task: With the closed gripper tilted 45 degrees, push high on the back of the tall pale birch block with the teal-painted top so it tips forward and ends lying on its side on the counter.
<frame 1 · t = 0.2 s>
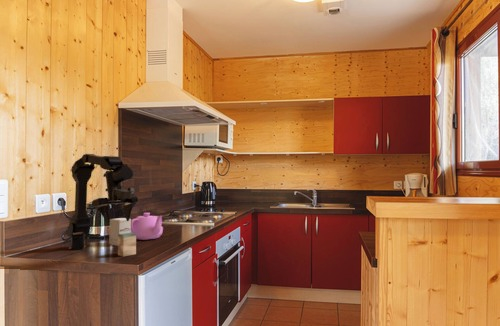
hand: (118, 222, 150), 15 cm above the countertop, tool pointing down, fingers open, 9 cm apart
supplement box: (119, 244, 181), on the countertop
birch block: (127, 254, 159), on the countertop
teapot: (148, 239, 196), on the countertop
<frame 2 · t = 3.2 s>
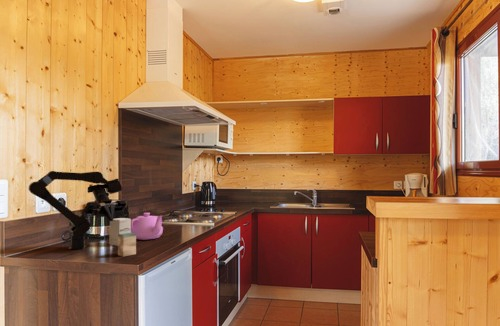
hand: (111, 220, 168), 14 cm above the countertop, tool tilted 45°, fingers closed
nothing on the countertop moved.
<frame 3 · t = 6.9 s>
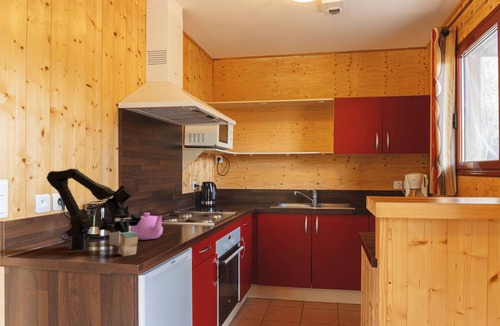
hand: (127, 236, 160), 8 cm above the countertop, tool tilted 45°, fingers closed
birch block: (127, 253, 159), on the countertop, tilted 11°
everything else where it was.
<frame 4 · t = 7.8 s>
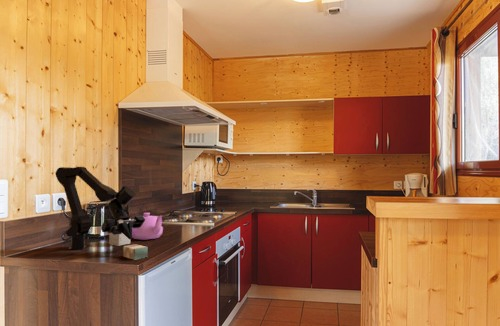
hand: (130, 238, 157), 7 cm above the countertop, tool tilted 45°, fingers closed
birch block: (129, 250, 157), point 2 cm above the countertop, tilted 90°
everything else where it was.
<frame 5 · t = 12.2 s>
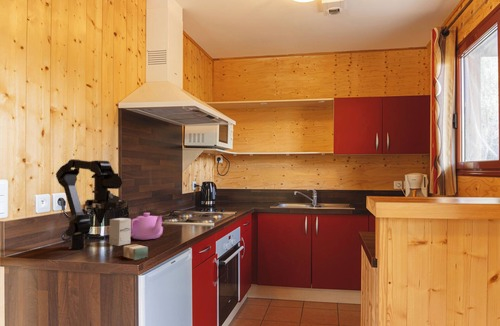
hand: (100, 222, 164), 13 cm above the countertop, tool pointing down, fingers closed
nothing on the countertop moved.
at the end: birch block tilted 90°; birch block inside the target area (1.0 cm from its centre), point 2.1 cm above the countertop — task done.
